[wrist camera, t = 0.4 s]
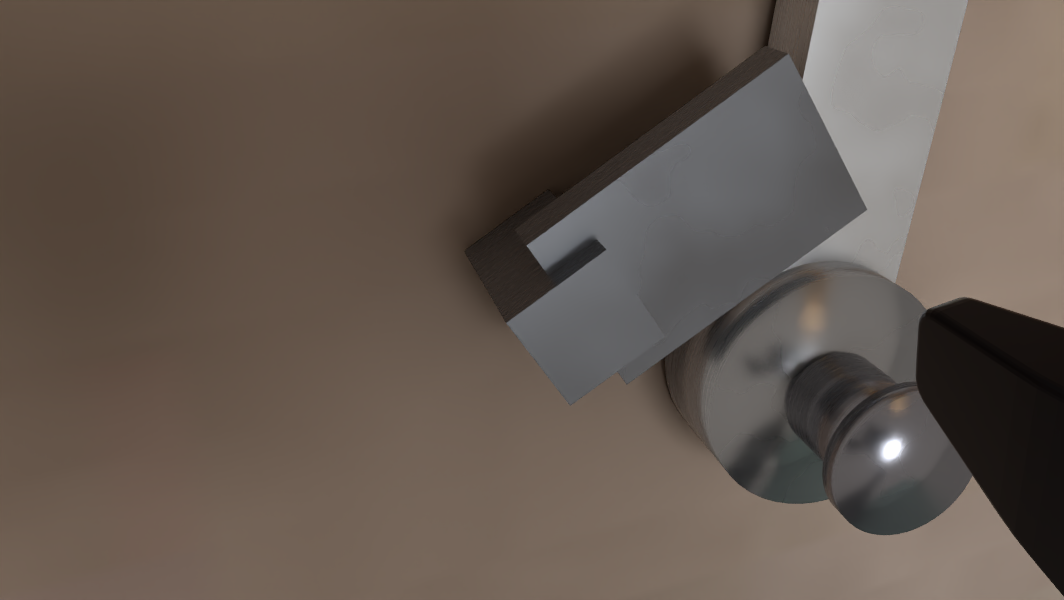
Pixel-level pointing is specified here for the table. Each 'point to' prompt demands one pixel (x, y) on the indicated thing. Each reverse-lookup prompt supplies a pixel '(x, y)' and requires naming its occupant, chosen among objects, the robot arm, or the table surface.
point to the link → (828, 240)
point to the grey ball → (875, 445)
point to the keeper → (670, 229)
